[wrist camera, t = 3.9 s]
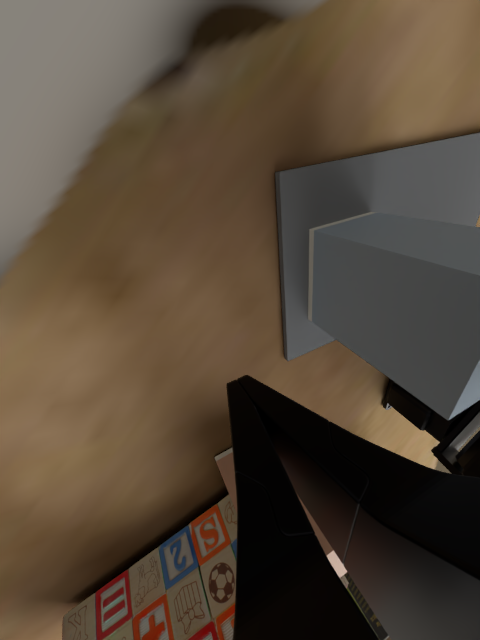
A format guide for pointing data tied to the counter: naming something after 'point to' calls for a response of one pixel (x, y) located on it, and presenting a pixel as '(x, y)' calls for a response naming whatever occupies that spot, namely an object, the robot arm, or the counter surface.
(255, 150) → the counter surface
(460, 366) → the slate blue block
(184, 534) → the stack of blocks
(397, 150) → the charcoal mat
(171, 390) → the counter surface
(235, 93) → the counter surface
